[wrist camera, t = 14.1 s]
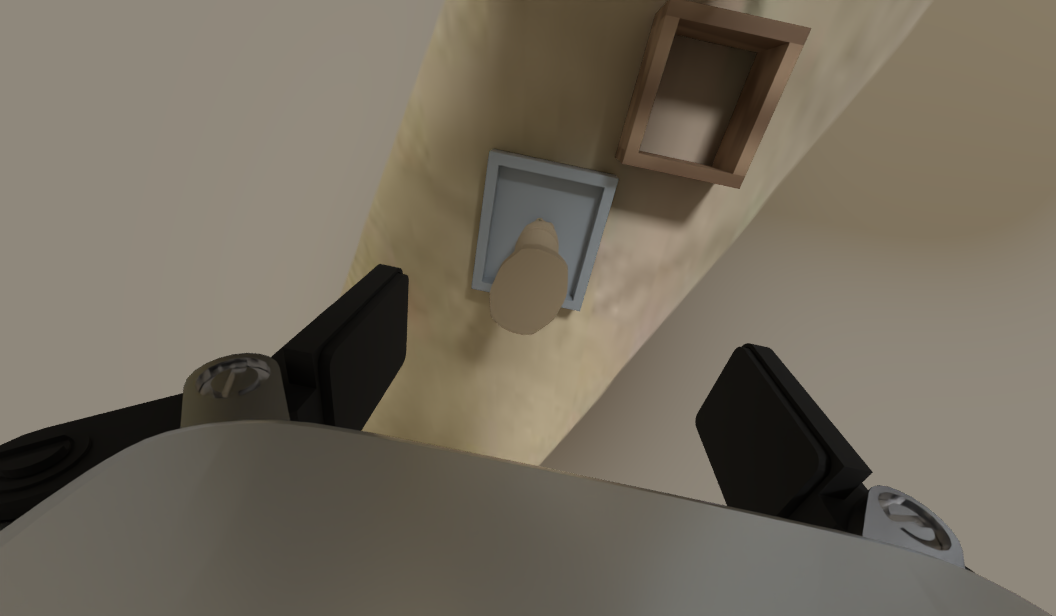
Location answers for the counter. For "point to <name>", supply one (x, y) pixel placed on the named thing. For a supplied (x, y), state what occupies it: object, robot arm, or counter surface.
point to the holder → (755, 103)
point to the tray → (542, 215)
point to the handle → (530, 281)
